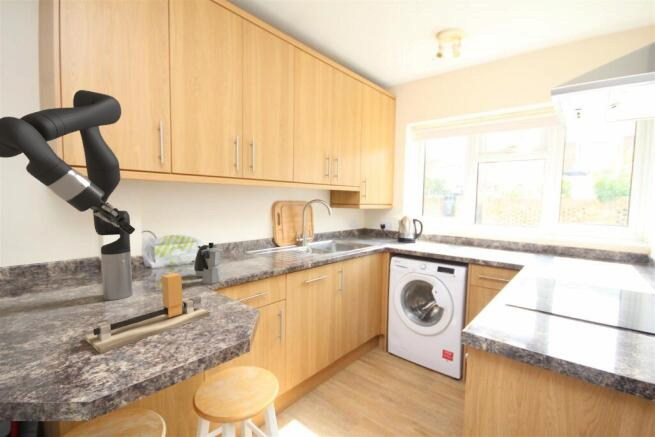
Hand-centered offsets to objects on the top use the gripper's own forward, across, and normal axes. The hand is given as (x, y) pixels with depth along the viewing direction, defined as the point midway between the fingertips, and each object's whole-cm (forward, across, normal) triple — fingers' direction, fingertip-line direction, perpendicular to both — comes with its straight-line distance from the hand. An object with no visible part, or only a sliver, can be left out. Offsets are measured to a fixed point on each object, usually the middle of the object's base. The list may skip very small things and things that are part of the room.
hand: (132, 231), depth 88 cm
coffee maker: (+47, +21, -7) cm, 52 cm away
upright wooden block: (+24, -7, +13) cm, 28 cm away
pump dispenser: (+50, +34, -10) cm, 62 cm away
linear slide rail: (+21, -7, +18) cm, 29 cm away
